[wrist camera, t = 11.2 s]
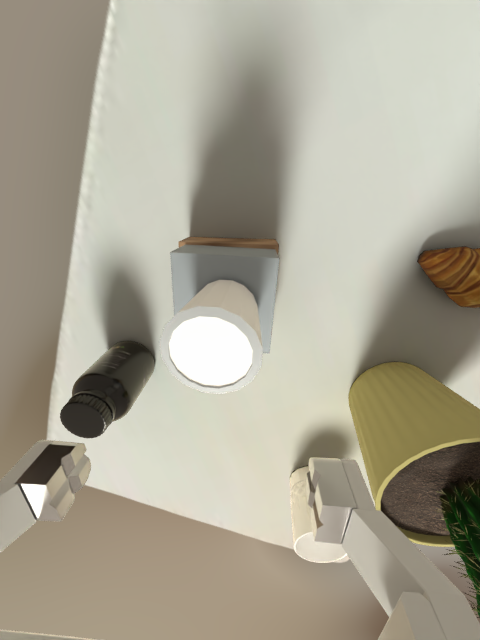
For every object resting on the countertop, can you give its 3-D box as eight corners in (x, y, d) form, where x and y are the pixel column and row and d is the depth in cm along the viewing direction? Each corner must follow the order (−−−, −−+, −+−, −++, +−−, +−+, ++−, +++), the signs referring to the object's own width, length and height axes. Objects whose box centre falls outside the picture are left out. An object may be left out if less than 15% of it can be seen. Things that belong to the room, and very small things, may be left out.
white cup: (293, 459, 44) (303, 525, 35) (338, 468, 44) (360, 536, 35) (280, 489, 47) (287, 557, 38) (323, 497, 47) (339, 567, 38)
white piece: (179, 278, 22) (143, 313, 16) (259, 266, 21) (254, 299, 15) (198, 346, 25) (175, 398, 19) (269, 339, 24) (269, 392, 18)
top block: (275, 249, 26) (279, 258, 21) (267, 330, 29) (269, 353, 25) (185, 244, 26) (170, 252, 22) (188, 325, 30) (176, 347, 25)
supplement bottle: (161, 376, 39) (124, 444, 28) (119, 381, 39) (66, 449, 28) (148, 335, 36) (101, 392, 25) (102, 341, 37) (36, 399, 26)
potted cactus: (347, 342, 35) (703, 860, 7) (464, 353, 34) (1298, 936, 7) (323, 428, 41) (464, 886, 13) (422, 438, 41) (774, 926, 13)
